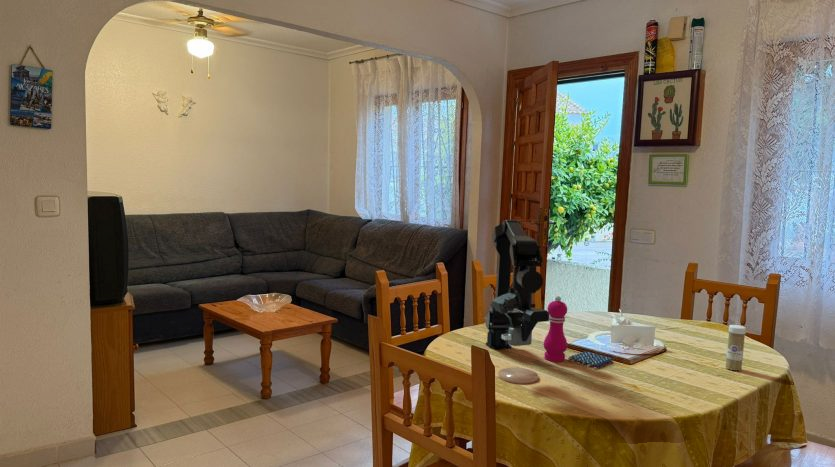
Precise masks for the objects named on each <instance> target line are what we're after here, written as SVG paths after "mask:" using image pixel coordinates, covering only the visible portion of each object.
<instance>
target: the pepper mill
mask: <svg viewBox="0 0 835 467" xmlns="http://www.w3.org/2000/svg"><path fill="white" fill-rule="evenodd" d="M561 300H562V298H561V296H559V295H557V296H555V298H554V300H553V301H551V302H550V303H548V306H547V311H548V313H549V314H550V316H549V321H548V322H549V329H548V332H547V334H546V336H545V338H544V340H543V348H544V350H545V351H544V356H543V358H544V360H546V361H549V362H554V363H562V362H564V361H565V360H566V353H564V352H566V351H567V349H568V342H567V338H566V336H565V332H564V323H565V322H566V315H567V313H568V307H567V304H566V303H565V302H563V301H561Z"/></svg>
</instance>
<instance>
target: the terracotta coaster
mask: <svg viewBox="0 0 835 467" xmlns="http://www.w3.org/2000/svg"><path fill="white" fill-rule="evenodd" d="M498 378H500V379H501V380H503V381H505V382H508V383H512V384H520V385H526V384H533V383H536V382H537V381H538V379H539V374H538V373H537V372H535V371H533V370H530V369H528V368H522V367H505V368H502V369H500V370H499V371H498Z"/></svg>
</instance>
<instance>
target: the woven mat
mask: <svg viewBox="0 0 835 467" xmlns="http://www.w3.org/2000/svg"><path fill="white" fill-rule="evenodd" d="M567 360H568V361H567V362H570V363H574V364H577V365H581V366H584V367H587V368H590V369H594V370H598V369H600V368H603V367H605V366H608V365H610V364H614V361H613V360H614V358H611V357H609V356H608V357H607V356H605V355H600V354H597V353H593V352H590V351H586V350H585V351H582V352H580V353H577V354H576V353H575V354H574V355H571V356H569V357H567Z"/></svg>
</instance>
